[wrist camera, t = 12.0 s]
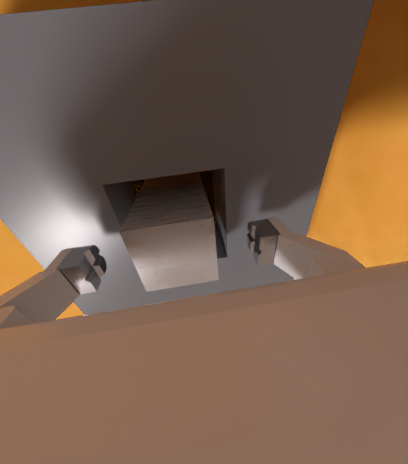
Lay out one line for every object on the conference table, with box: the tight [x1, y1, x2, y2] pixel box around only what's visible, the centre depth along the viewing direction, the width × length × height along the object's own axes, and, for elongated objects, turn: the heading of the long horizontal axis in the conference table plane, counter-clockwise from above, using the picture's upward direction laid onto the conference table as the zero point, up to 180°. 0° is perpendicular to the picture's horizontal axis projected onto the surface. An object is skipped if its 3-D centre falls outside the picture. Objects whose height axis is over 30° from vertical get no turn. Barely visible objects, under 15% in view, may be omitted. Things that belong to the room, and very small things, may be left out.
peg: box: [119, 172, 219, 292], centre depth 12 cm, size 4×4×8 cm
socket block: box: [0, 0, 374, 315], centre depth 13 cm, size 18×18×5 cm
